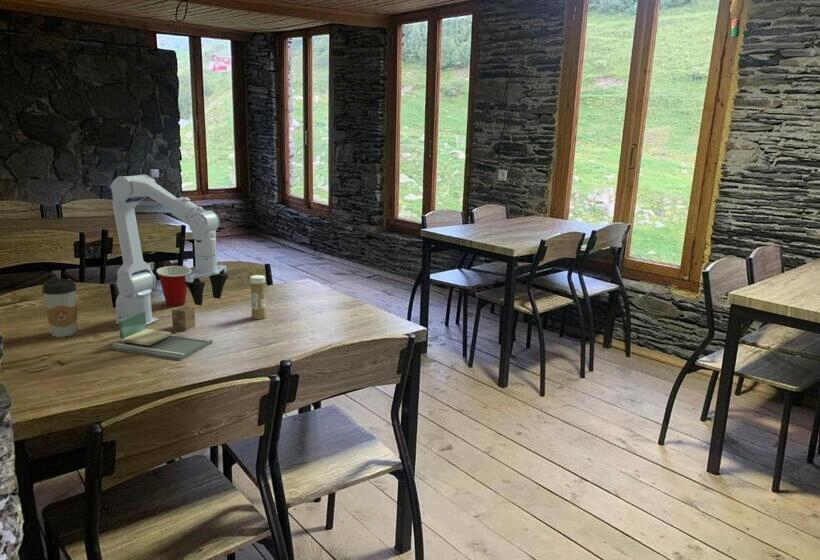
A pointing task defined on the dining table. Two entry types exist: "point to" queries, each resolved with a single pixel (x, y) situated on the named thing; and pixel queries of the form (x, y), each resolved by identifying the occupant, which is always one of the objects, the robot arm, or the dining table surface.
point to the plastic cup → (174, 284)
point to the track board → (166, 347)
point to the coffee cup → (61, 306)
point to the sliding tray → (139, 330)
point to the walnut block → (183, 318)
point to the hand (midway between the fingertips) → (207, 301)
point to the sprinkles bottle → (258, 296)
